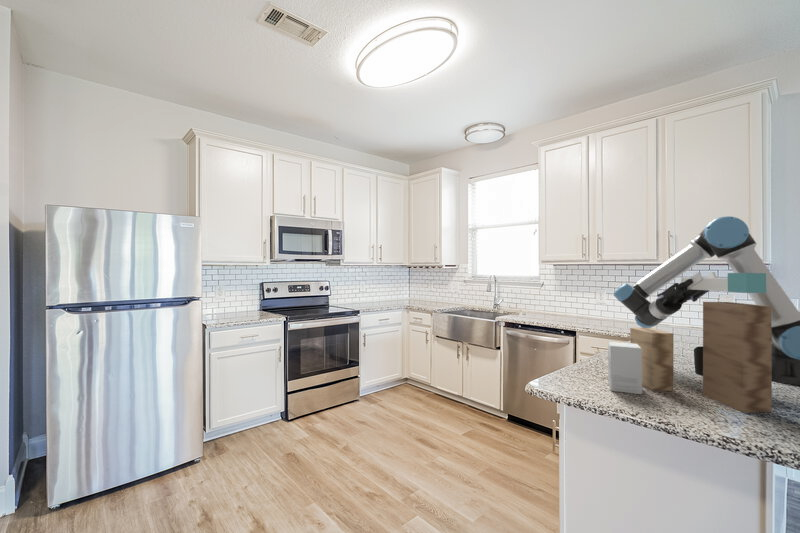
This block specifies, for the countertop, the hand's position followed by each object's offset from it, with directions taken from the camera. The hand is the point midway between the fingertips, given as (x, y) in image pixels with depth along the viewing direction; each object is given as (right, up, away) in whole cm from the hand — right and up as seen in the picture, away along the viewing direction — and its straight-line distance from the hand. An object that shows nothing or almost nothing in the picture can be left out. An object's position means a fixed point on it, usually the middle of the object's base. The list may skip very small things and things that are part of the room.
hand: (707, 275), depth 121 cm
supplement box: (-26, -38, +2) cm, 46 cm away
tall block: (0, -38, -11) cm, 40 cm away
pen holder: (+18, -39, +21) cm, 48 cm away
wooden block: (-14, -38, +7) cm, 41 cm away
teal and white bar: (0, -5, -4) cm, 6 cm away
